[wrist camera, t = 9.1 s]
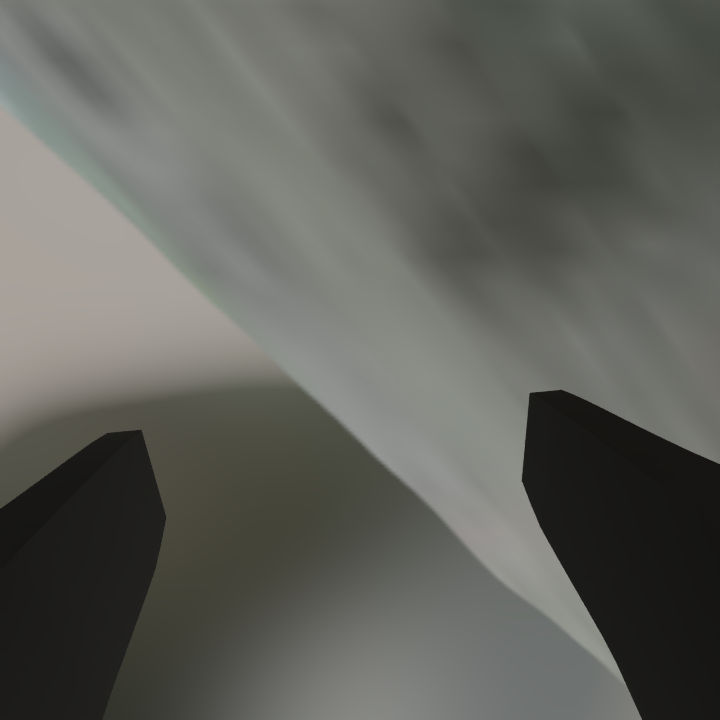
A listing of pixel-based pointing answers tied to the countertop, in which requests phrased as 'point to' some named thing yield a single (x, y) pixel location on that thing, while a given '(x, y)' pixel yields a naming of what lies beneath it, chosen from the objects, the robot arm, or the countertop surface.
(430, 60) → the countertop surface
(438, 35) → the countertop surface
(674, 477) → the robot arm
